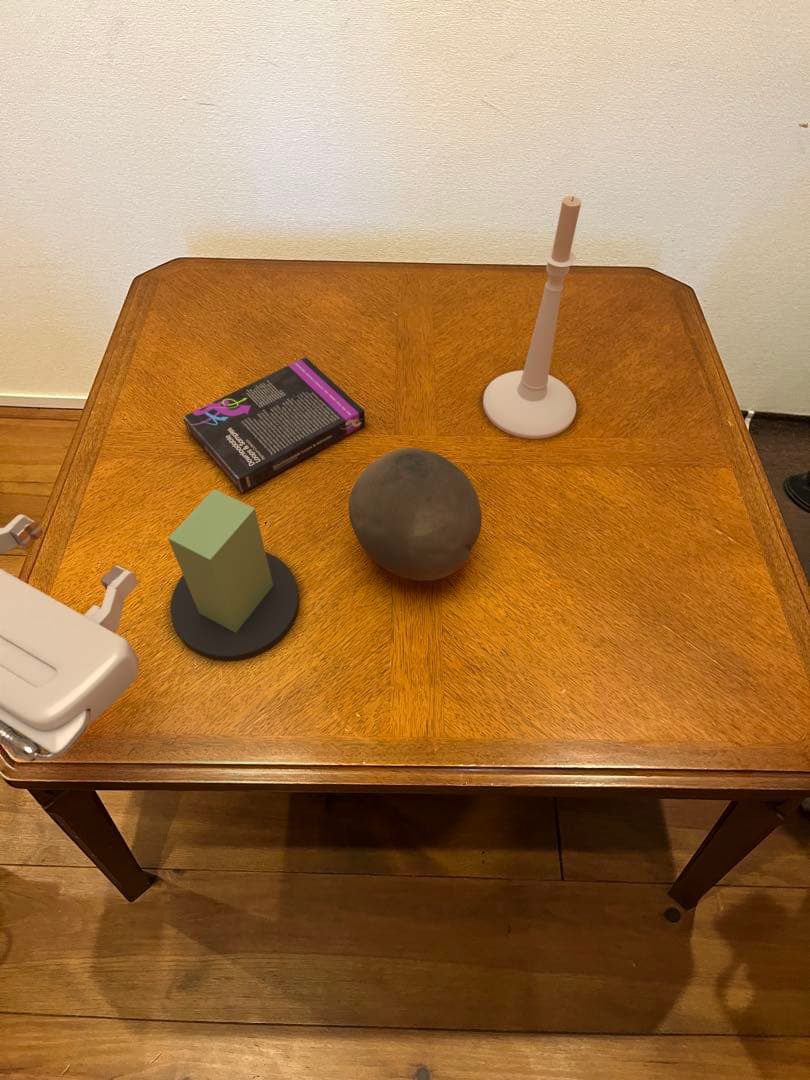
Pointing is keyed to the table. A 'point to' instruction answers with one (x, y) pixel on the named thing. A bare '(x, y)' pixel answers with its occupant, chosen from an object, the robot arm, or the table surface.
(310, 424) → the box
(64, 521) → the table surface
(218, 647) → the mat
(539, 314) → the candlestick
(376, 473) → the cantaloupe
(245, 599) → the green box
